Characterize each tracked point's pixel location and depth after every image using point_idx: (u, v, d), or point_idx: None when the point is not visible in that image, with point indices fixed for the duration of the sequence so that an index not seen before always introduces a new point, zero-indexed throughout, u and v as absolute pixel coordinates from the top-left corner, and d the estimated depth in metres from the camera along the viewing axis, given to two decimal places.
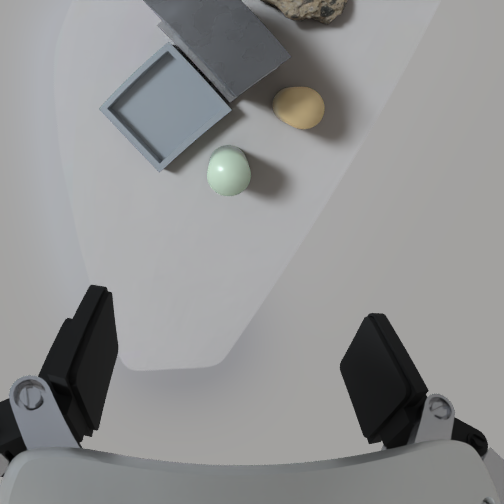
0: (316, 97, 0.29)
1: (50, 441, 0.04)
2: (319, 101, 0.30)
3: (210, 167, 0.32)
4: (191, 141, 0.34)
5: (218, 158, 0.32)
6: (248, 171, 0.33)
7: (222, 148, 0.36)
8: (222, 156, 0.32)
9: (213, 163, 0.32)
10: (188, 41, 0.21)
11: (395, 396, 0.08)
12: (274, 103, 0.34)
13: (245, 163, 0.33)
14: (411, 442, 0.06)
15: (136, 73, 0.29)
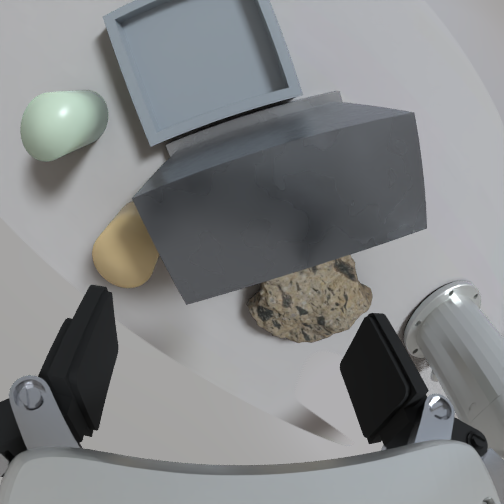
0: (135, 281, 0.22)
1: (50, 441, 0.04)
2: (129, 283, 0.22)
3: (63, 100, 0.15)
4: (125, 74, 0.18)
5: (72, 116, 0.15)
6: (45, 158, 0.16)
7: (100, 117, 0.20)
8: (73, 123, 0.16)
9: (67, 106, 0.15)
10: (280, 149, 0.12)
11: (395, 396, 0.08)
12: None
13: (56, 156, 0.17)
14: (411, 442, 0.06)
15: (277, 30, 0.17)
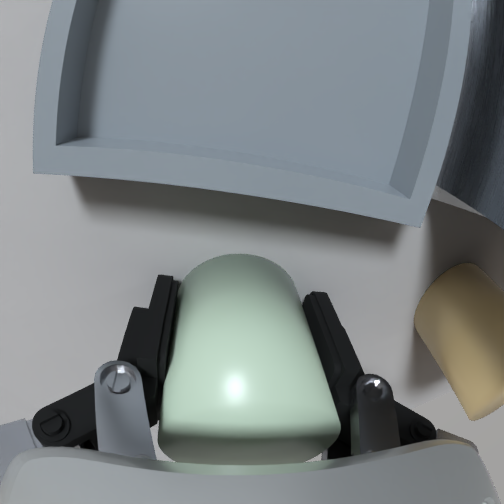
0: None
1: (124, 427, 0.05)
2: None
3: (224, 409, 0.06)
4: (228, 184, 0.08)
5: (288, 405, 0.06)
6: (306, 457, 0.08)
7: (280, 288, 0.10)
8: (307, 407, 0.06)
9: (251, 407, 0.06)
10: None
11: (326, 373, 0.09)
12: (460, 290, 0.11)
13: (327, 444, 0.07)
14: (355, 435, 0.06)
15: None
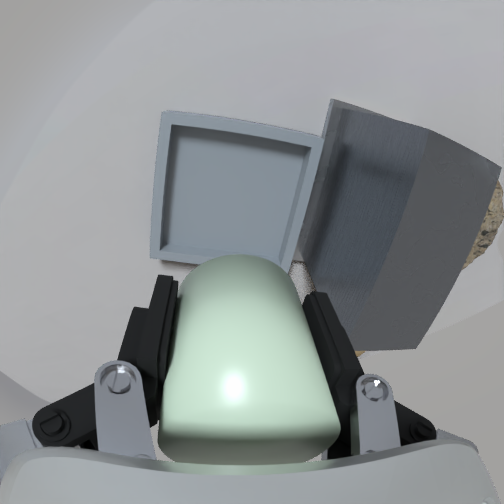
0: None
1: (124, 427, 0.05)
2: None
3: (224, 410, 0.06)
4: None
5: (288, 406, 0.06)
6: (306, 458, 0.08)
7: (280, 289, 0.10)
8: (307, 407, 0.06)
9: (251, 408, 0.06)
10: (389, 256, 0.14)
11: (326, 373, 0.09)
12: None
13: (327, 445, 0.07)
14: (355, 435, 0.06)
15: (252, 127, 0.20)
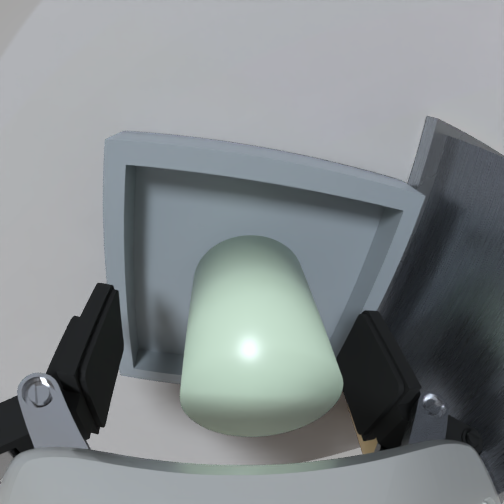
0: None
1: (57, 439, 0.04)
2: None
3: (243, 356, 0.07)
4: None
5: (297, 353, 0.07)
6: (313, 417, 0.09)
7: (288, 264, 0.11)
8: (313, 356, 0.07)
9: (266, 354, 0.07)
10: None
11: (388, 393, 0.08)
12: None
13: (332, 402, 0.09)
14: (406, 441, 0.06)
15: (298, 171, 0.10)
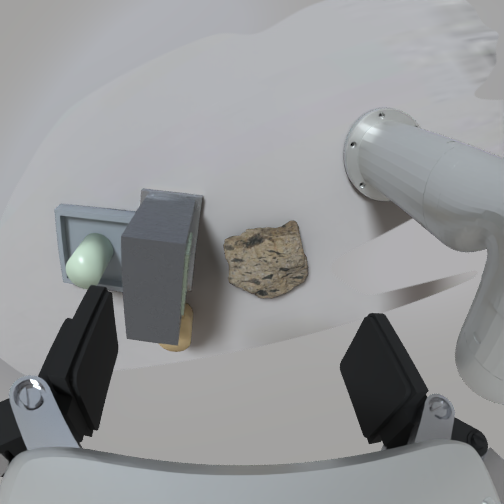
0: (187, 341, 0.41)
1: (50, 441, 0.04)
2: (187, 343, 0.41)
3: (74, 258, 0.32)
4: None
5: (84, 258, 0.32)
6: (96, 283, 0.34)
7: (99, 241, 0.36)
8: (87, 260, 0.33)
9: (78, 258, 0.32)
10: (124, 293, 0.29)
11: (395, 396, 0.08)
12: None
13: (98, 277, 0.34)
14: (411, 442, 0.06)
15: (95, 215, 0.35)
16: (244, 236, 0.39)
